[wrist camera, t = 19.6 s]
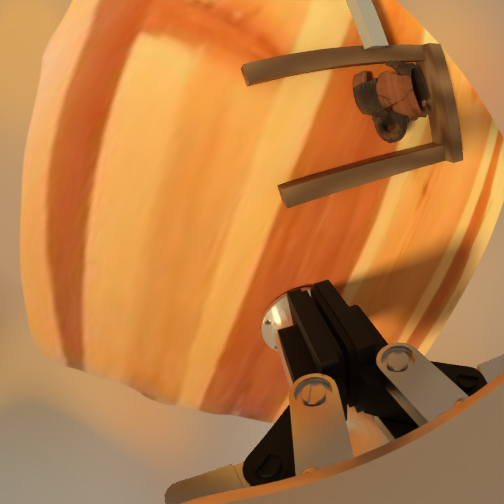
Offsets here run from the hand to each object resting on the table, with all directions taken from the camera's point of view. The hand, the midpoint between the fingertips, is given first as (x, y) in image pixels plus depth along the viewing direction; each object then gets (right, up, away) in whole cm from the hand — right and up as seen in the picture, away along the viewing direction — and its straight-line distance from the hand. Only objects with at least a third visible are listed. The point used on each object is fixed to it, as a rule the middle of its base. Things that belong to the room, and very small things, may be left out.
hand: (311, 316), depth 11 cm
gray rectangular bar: (+11, +32, +14) cm, 37 cm away
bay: (+12, +21, +22) cm, 32 cm away
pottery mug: (+15, +23, +22) cm, 35 cm away
